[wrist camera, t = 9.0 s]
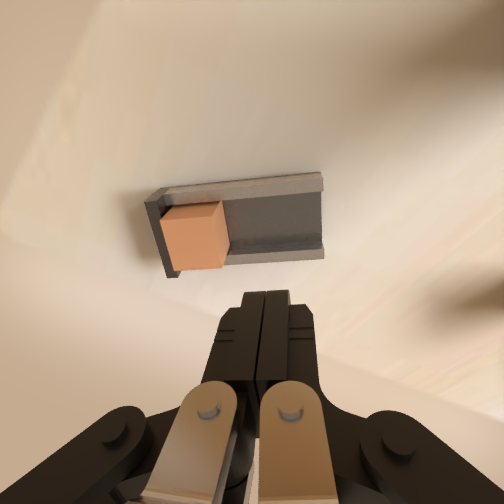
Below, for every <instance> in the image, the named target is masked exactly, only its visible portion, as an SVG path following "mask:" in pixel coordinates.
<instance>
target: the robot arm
mask: <svg viewBox="0 0 504 504" xmlns="http://www.w3.org/2000/svg"><path fill="white" fill-rule="evenodd" d="M317 366H318V365H317V354H316V343H315V332H314V321H313V314H312V313H311V311H310V310H309V308H308V307H307V306H306V304H298V305H291V303H290V294H289V290H274V291H267V292H266V291H257V292H245V293H244V295H243V299H242V303H241V307H236V308H229V309H228V311H227V312H226V313H225V314H224V315H223V316H222V318H221V319H220V323H219V326H218V329H217V333H216V336H215V339H214V343H213V346H212V349H211V352H210V355H209V358H208V362H207V365H206V368H205V371H204V375H203V378H202V381H201V384H200V385H198V386H197V387H195V388H194V389H192V390H191V391H190V392H189V393H188V394H187V395H186V397H185V398H184V400H183V402H182V404H181V406H179V407H177V408H175V409H172V410H169V411H166V412H163V413H160V414H156V415H153V416H150V417H147V418H146V417H145V415H144V413H143V412H142V411H141V410H140V409H139V408H137V407H134V406H123V407H119V408H117V409H114V410H112V411H110V412H108V413H107V414H106V415H104V416H103V417H102V418H100V419H99V420H97V421H96V422H95V423H93V424H92V425H91V426H89V427H88V428H87V429H85V430H84V431H83V432H82V433H80V434H79V435H77V436H76V437H75V438H73V439H72V440H71V441H70V442H68V443H67V444H65V445H64V446H63V447H61V448H60V449H59V450H57V451H56V452H55V453H54V454H52V455H51V456H49V457H48V458H47V459H46V460H44V461H43V462H41V463H40V464H39V465H37V466H36V467H35V468H34V469H32V470H31V471H30V472H28V473H27V474H26V475H24V476H23V477H22V478H20V479H19V480H18V481H16V482H15V483H14V484H13V485H11V486H10V487H8V488H7V489H6V490H4V491H3V492H2V493H0V504H249V498H250V492H251V486H252V480H253V474H254V461H253V457H254V448H255V439H256V438H259V439H260V440H259V488H258V504H504V491H503V490H502V489H501V488H499V487H498V486H497V485H496V484H494V483H493V482H492V481H491V480H489V479H488V478H487V477H486V476H485V475H483V474H482V473H481V472H480V471H478V470H477V469H476V468H475V467H474V466H472V465H471V464H470V463H469V462H467V461H466V460H465V459H464V458H463V457H461V456H460V455H459V454H458V453H456V452H455V451H454V450H453V449H451V448H450V447H449V446H448V445H447V444H445V443H444V442H443V441H442V440H440V439H439V438H438V437H437V436H436V435H434V434H433V433H432V432H431V431H429V430H428V429H427V428H426V427H424V426H423V425H422V424H421V423H419V422H418V421H417V420H415V419H414V418H412V417H410V416H408V415H406V414H403V413H401V412H397V411H390V410H387V411H379V412H376V413H374V414H372V415H370V416H369V417H368V418H367V419H366V418H363V417H360V416H357V415H354V414H350V413H348V412H345V411H343V410H341V409H339V408H337V407H336V406H334V405H333V404H332V403H331V402H330V401H329V400H327V398H326V397H325V396H324V394H323V392H322V391H321V388H320V384H319V376H318V367H317Z"/></svg>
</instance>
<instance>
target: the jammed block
mask: <svg viewBox="0 0 504 504" xmlns="http://www.w3.org/2000/svg"><path fill="white" fill-rule="evenodd" d="M160 224H161V227H162V231H163V234H164V238H165V241H166V245H167V248H168V252H169V255H170V259H171V262H172V266H173V269H174V271H182V270H199V269H215V268H222V267H223V264H224V261H225V258H226V255H227V252H228V249H229V246H230V243H229V237H228V231H227V226H226V220H225V215H224V209H223V203H222V201H212V202H201V203H190V204H179V205H174V206H173V207H172V208H171V209H170V210H169V211H168V212H167V213H166V214H165V215H164V216H163V218H162V219H161V220H160Z"/></svg>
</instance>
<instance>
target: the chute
mask: <svg viewBox="0 0 504 504" xmlns="http://www.w3.org/2000/svg"><path fill="white" fill-rule="evenodd" d="M321 191H323V177H322V175H321V173H320V172H315V173H305V174H295V175H286V176H276V177H266V178H256V179H246V180H236V181H226V182H217V183H207V184H197V185H187V186H177V187H167V188H160V189H159V190H158V191H157V192H156V193H154V194H153V195H152V196H151V197H150V198H148V199H147V200H146V201H145V202H144V203H145V207H146V210H147V213H148V216H149V220H150V223H151V226H152V230H153V233H154V236H155V239H156V243H157V246H158V249H159V253H160V256H161V259H162V262H163V266H164V269H165V272H166V276H167V278H178V276H179V275H180V273H181V271H174V269H173V266H172V262H171V259H170V255H169V252H168V248H167V245H166V241H165V238H164V234H163V231H162V227H161V224H160V220H161V219H162V218H163V216H164V215H165V214H166V213H167V212H168V211H169V210H170V209H171V208H172V207H173V206H174V205H179V204H190V203H201V202H212V201H222V203H223V209H224V215H225V220H226V226H227V231H228V237H229V243H230V246H229V249H228V252H227V255H226V258H225V261H224V264H223V265H235V264H251V263H267V262H283V261H299V260H315V259H324V247H323V243H322V222H321Z"/></svg>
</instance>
